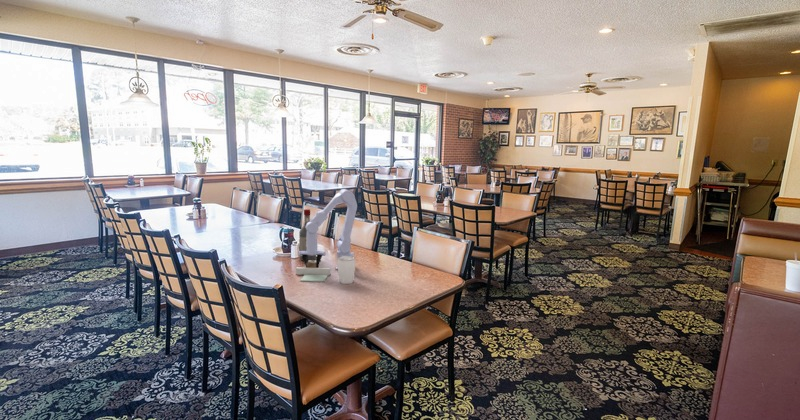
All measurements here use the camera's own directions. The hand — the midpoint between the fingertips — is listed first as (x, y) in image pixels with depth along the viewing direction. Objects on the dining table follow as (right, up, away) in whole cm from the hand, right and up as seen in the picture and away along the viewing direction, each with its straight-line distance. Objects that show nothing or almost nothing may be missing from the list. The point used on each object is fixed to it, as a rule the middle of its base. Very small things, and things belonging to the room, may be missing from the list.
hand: (312, 268), depth 206 cm
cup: (+21, -5, -16) cm, 27 cm away
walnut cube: (0, -1, 0) cm, 2 cm away
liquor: (-8, +2, +22) cm, 24 cm away
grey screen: (+2, -2, -6) cm, 7 cm away
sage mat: (+4, -4, -13) cm, 14 cm away
